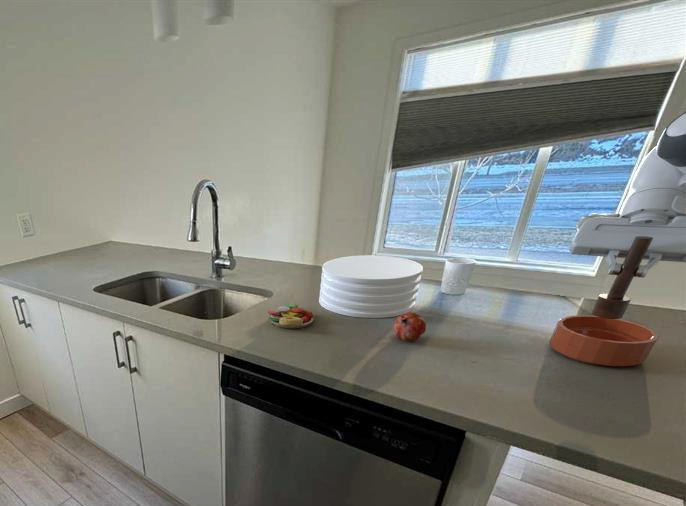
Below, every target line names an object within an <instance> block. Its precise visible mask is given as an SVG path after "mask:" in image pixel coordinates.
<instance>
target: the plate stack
mask: <svg viewBox="0 0 686 506" xmlns="http://www.w3.org/2000/svg"><path fill="white" fill-rule="evenodd" d="M423 271H424V267H423V265H422V264H421V263H419V262H418V261H417V262H416V261H414V260H411V259H409V258H404V257H398V256H389V255H376V254H375V255H372V254H369V255H367V254H365V255H364V254H363V255H349V256H343V257H336V258H332V259H330V260H327V261H326V262H324V263H323V264H322V266H321V275H320V276H321V281H320V289H319V298H318V303H319V305H320V306H321V307H322V308H323V309H325V310H327V311H329V312H332V313H333V314H337V315H343V316H347V317H352V318H363V319H382V318H383V319H384V318H392V317H399V316H402V315H404V314H406V313H409V312H412V311H413V310H414V309H415V306H416V300H417V297H418V292H419V289H420V284H421V280H422V274H423Z"/></svg>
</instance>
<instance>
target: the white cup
mask: <svg viewBox="0 0 686 506" xmlns="http://www.w3.org/2000/svg"><path fill="white" fill-rule="evenodd" d="M476 263H477V261H476V260H475V259H473V258H467V257H449V258H447V259H445V262H444V267H443V273H442V278H441V284H440V285H441V286H440V292H441V293H443V294H446V295H451V296H458V295H459V296H460V295H464V294H465V293H466V290H467V288H468V285H469V283H470V280H471V278H472V274H473V272H474V269H475V266H476Z"/></svg>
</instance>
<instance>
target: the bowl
mask: <svg viewBox="0 0 686 506" xmlns="http://www.w3.org/2000/svg"><path fill="white" fill-rule="evenodd" d="M659 338H660V337H659V334H658V332H656V331H654V330H653V329H652V328H650V327H648V326H645V325H642V324H640V323H636V322H633V321H629V320H626V319H622V318H620V319H606V318H601V317H597V316H594V315H587V314H583V315H582V314H577V315H567V316H565V317H561V318H560V319H559V320H557V323H556V325H555V327H554V329H553V332H552V334H551V336H550V339H549V346H550V347H551V348H552V349H553V350H554V351H556V352H558V353H560V354H562V355H563V356H565V357H567V358H570V359H572V360H576V361H579V362H581V363H582V362H583V363H586V364H590V365H597V366H605V367H629V366H630V367H631V366H637V365H641V364H643V363H645V361H646V360H647V359H648V357H649V355H650V354H651V351H652V350H653V348H654V346H655V344H656V343H657V341H658V339H659Z"/></svg>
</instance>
